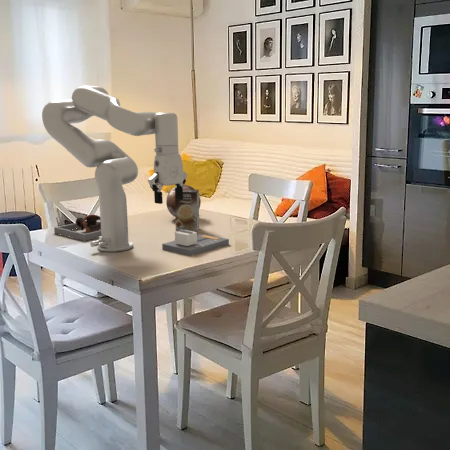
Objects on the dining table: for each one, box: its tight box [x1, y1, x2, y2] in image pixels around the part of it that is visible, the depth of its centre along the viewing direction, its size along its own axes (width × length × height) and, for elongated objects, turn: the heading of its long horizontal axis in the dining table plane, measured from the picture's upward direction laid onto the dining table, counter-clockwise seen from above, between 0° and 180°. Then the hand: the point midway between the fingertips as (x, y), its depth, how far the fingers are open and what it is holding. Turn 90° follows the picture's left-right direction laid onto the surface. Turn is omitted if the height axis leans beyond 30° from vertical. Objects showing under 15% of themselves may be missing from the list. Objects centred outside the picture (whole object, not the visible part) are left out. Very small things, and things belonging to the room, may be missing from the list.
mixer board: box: [161, 233, 230, 257], centre depth 213 cm, size 20×14×2 cm
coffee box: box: [174, 189, 200, 232], centre depth 239 cm, size 9×6×16 cm
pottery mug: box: [75, 214, 101, 234], centre depth 237 cm, size 12×10×8 cm
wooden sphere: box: [165, 184, 202, 217], centre depth 260 cm, size 15×15×15 cm
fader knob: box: [174, 229, 198, 246], centre depth 209 cm, size 5×6×5 cm
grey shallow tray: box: [53, 220, 101, 242], centre depth 237 cm, size 18×20×2 cm
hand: (169, 201), depth 201 cm, fingers open, 9 cm apart
